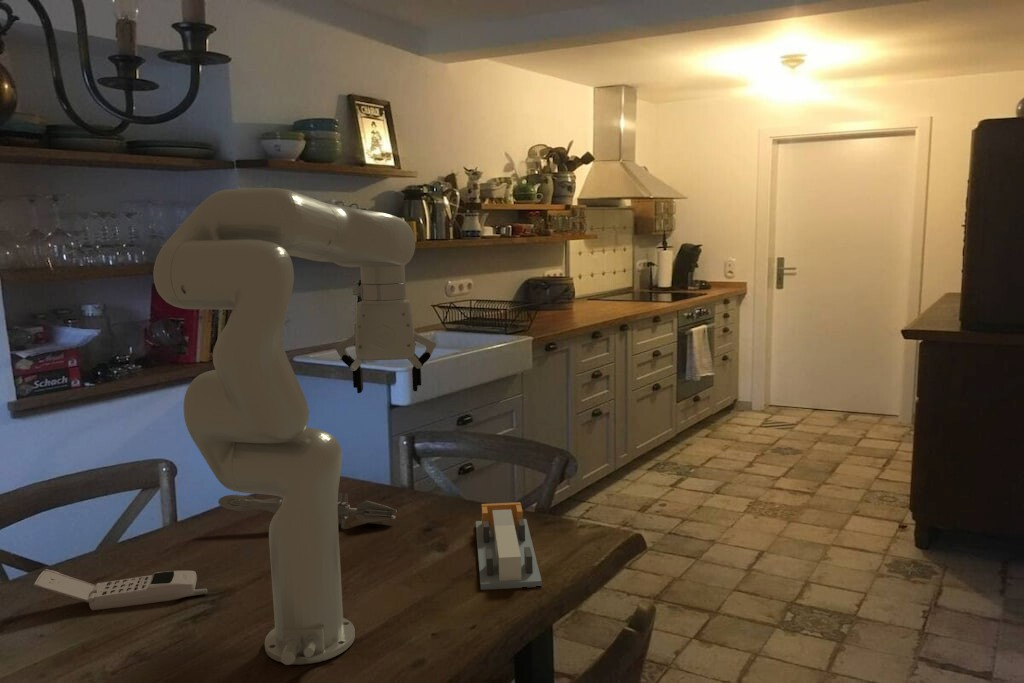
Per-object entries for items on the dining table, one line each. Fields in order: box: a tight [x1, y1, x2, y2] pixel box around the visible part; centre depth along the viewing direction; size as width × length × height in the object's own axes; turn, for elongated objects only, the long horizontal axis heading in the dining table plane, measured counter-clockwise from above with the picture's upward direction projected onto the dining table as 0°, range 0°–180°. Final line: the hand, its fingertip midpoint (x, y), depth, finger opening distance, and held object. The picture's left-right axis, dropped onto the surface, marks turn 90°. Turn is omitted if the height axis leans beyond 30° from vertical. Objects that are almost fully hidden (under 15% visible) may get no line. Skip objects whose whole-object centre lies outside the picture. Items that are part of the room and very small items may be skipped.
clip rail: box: [475, 501, 543, 591], centre depth 146 cm, size 28×10×5 cm, turn 4°
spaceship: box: [218, 492, 397, 529], centre depth 161 cm, size 8×35×8 cm
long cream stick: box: [492, 509, 521, 581], centre depth 144 cm, size 22×4×4 cm, turn 4°
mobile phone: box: [33, 568, 208, 611], centre depth 131 cm, size 6×6×25 cm
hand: (387, 390), depth 143 cm, fingers open, 9 cm apart
